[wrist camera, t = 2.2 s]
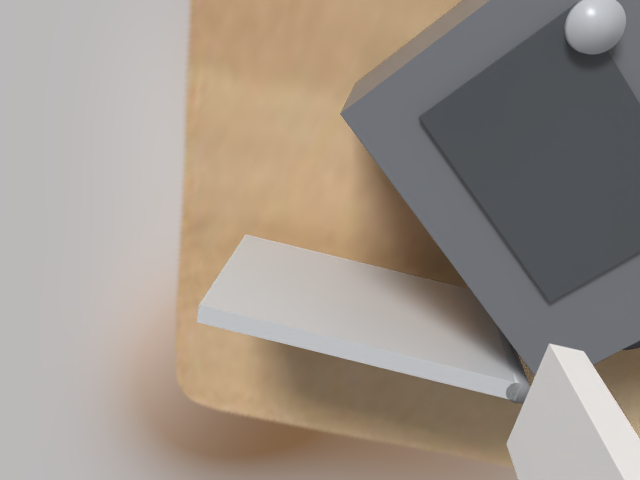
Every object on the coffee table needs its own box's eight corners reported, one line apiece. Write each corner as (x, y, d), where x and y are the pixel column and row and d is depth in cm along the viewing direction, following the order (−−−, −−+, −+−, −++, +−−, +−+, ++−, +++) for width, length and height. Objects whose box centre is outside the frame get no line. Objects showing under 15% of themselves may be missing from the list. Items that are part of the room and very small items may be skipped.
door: (499, 294, 38) (535, 385, 29) (489, 320, 39) (521, 417, 29) (245, 232, 38) (199, 302, 29) (241, 259, 39) (194, 335, 30)
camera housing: (692, 204, 36) (842, 297, 24) (513, 307, 40) (566, 433, 28) (534, -56, 32) (619, -97, 20) (351, 86, 36) (332, 121, 24)
